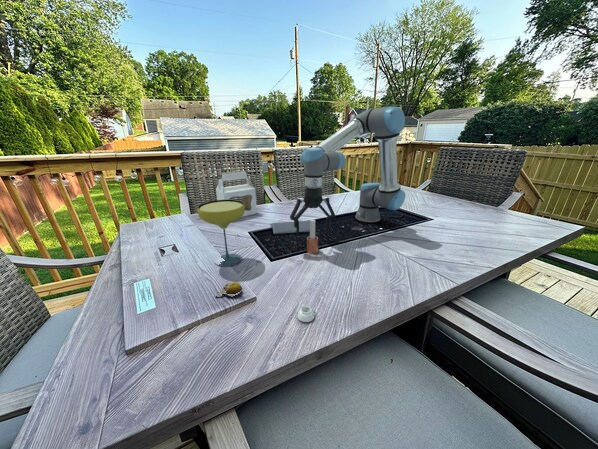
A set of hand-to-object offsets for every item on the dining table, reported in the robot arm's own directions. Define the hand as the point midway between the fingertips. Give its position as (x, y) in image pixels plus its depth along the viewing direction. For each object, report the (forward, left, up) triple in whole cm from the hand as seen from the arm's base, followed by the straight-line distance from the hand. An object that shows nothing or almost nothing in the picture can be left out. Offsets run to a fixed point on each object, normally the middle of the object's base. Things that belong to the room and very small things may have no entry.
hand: (312, 233), depth 111 cm
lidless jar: (+11, +42, -10) cm, 44 cm away
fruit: (+35, +25, -10) cm, 44 cm away
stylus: (0, 0, -9) cm, 9 cm away
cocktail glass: (+38, +2, -10) cm, 39 cm away
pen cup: (0, 0, -9) cm, 9 cm away
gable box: (+38, -63, -10) cm, 74 cm away
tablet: (+5, -31, -9) cm, 33 cm away
